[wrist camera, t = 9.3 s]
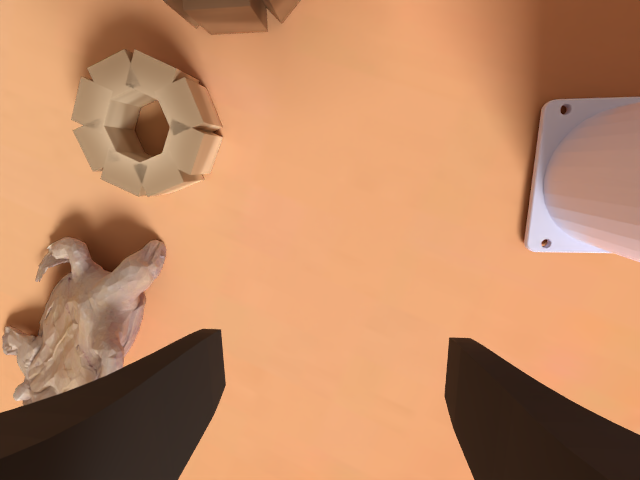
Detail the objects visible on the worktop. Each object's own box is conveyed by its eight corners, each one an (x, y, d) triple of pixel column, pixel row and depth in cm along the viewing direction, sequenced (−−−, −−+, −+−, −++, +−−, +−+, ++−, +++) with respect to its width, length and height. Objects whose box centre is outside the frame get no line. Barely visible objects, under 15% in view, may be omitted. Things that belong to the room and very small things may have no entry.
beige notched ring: (189, 46, 19) (164, 28, 16) (238, 166, 20) (222, 166, 17) (88, 96, 20) (50, 86, 17) (140, 205, 21) (112, 211, 19)
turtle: (133, 391, 28) (83, 523, 19) (-2, 376, 25) (-135, 525, 16) (178, 227, 24) (141, 298, 15) (23, 185, 21) (-139, 243, 12)
